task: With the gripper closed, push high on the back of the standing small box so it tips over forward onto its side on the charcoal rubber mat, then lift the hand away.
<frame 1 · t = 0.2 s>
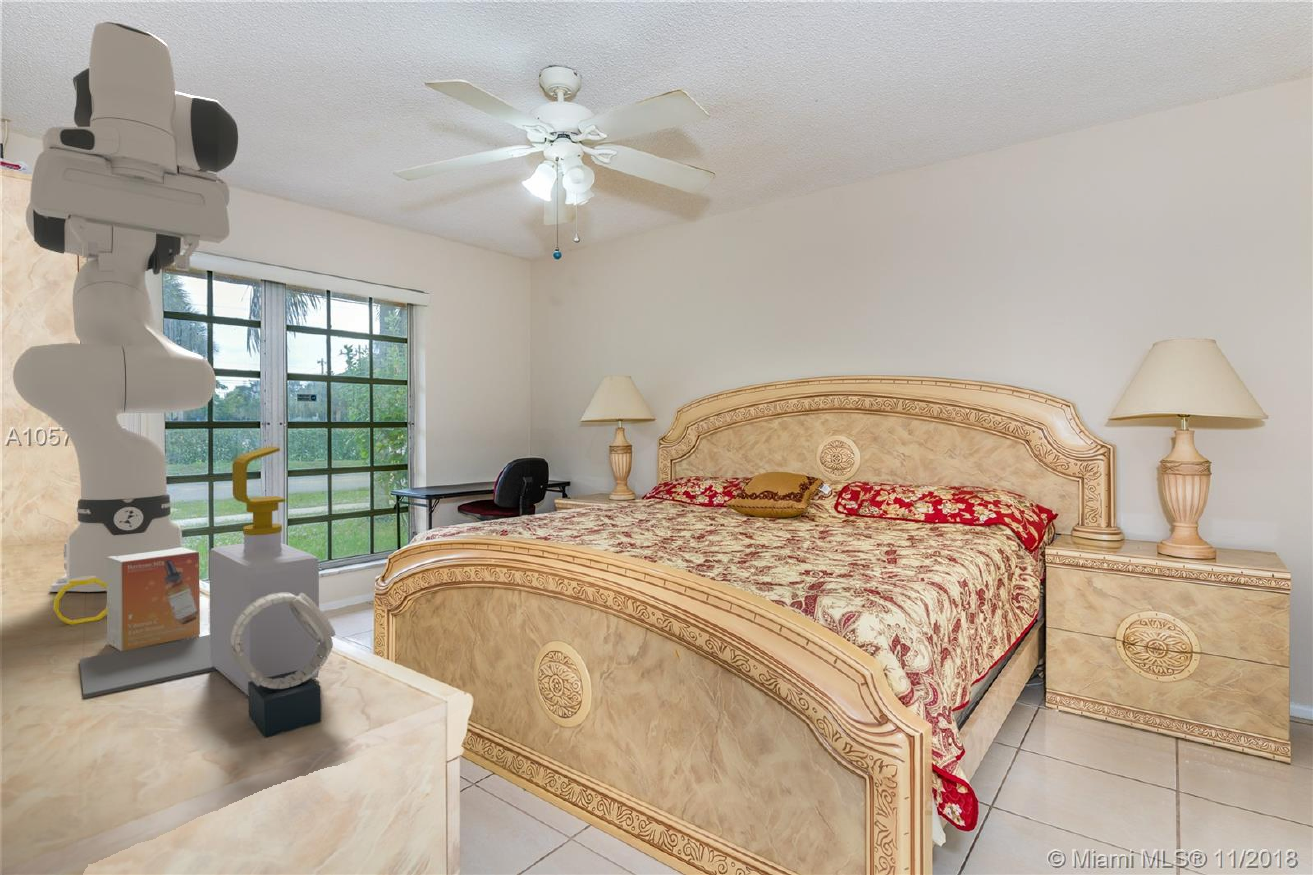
hand: (138, 263, 86), 47 cm above the table, fingers open, 8 cm apart
soap bottle: (263, 674, 69), on the table, touching mat
watch 2: (84, 623, 88), on the table
small box: (155, 641, 80), on the table
mat: (166, 662, 73), on the table
watch: (285, 721, 59), on the table
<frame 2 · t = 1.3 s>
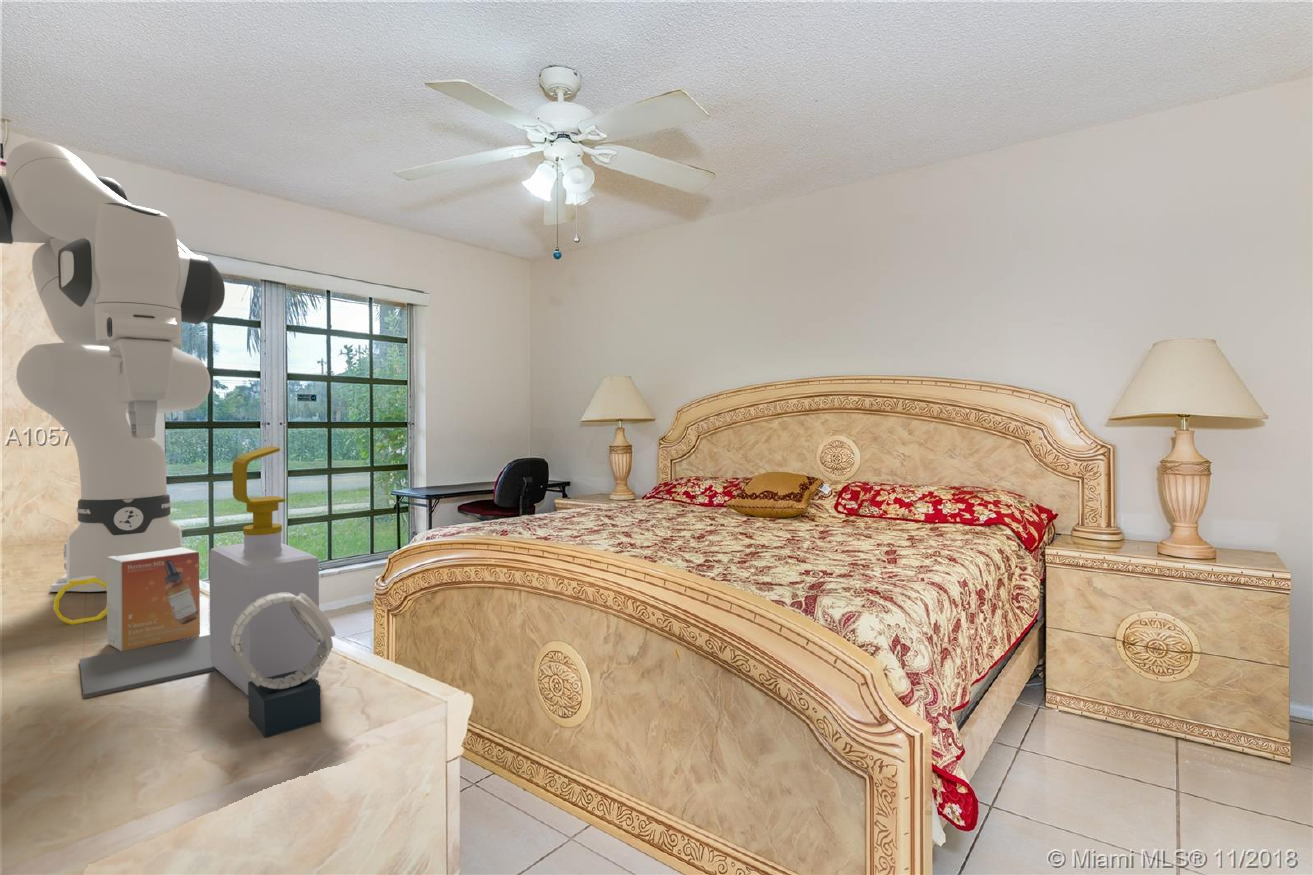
hand: (142, 438, 86), 24 cm above the table, fingers open, 7 cm apart
nothing on the table moved.
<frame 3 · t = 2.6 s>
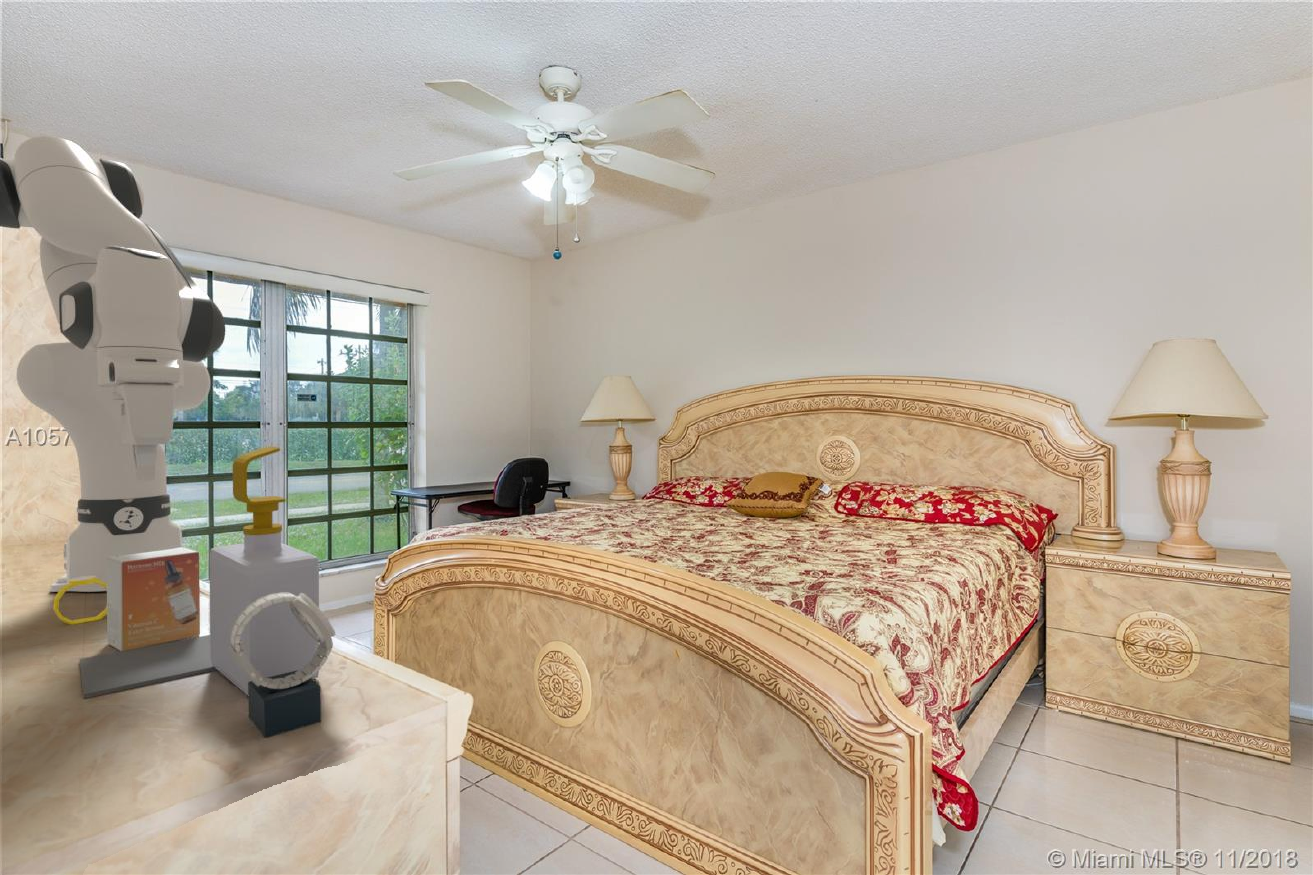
hand: (145, 480, 86), 19 cm above the table, fingers closed
nothing on the table moved.
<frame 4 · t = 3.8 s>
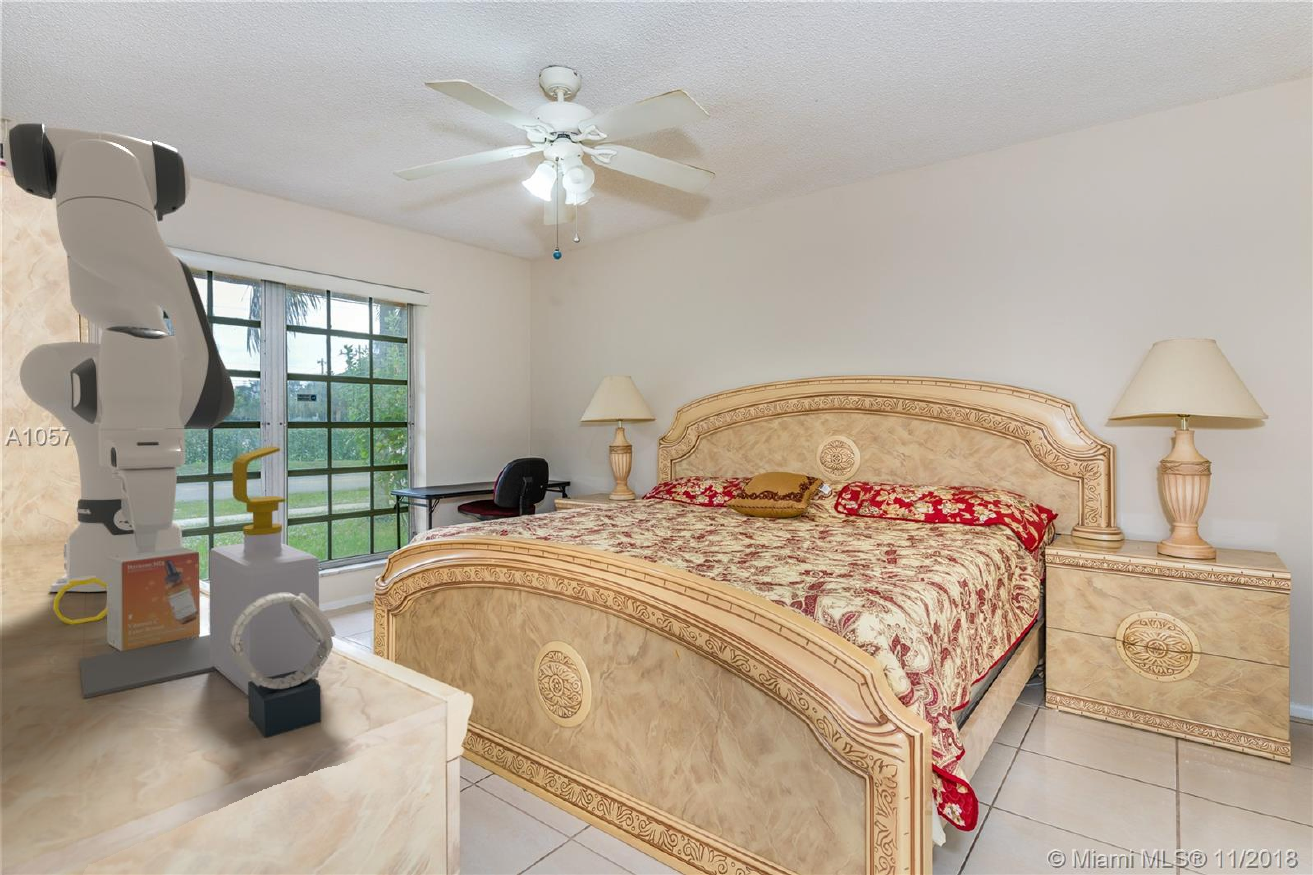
hand: (146, 558, 86), 9 cm above the table, fingers closed
nothing on the table moved.
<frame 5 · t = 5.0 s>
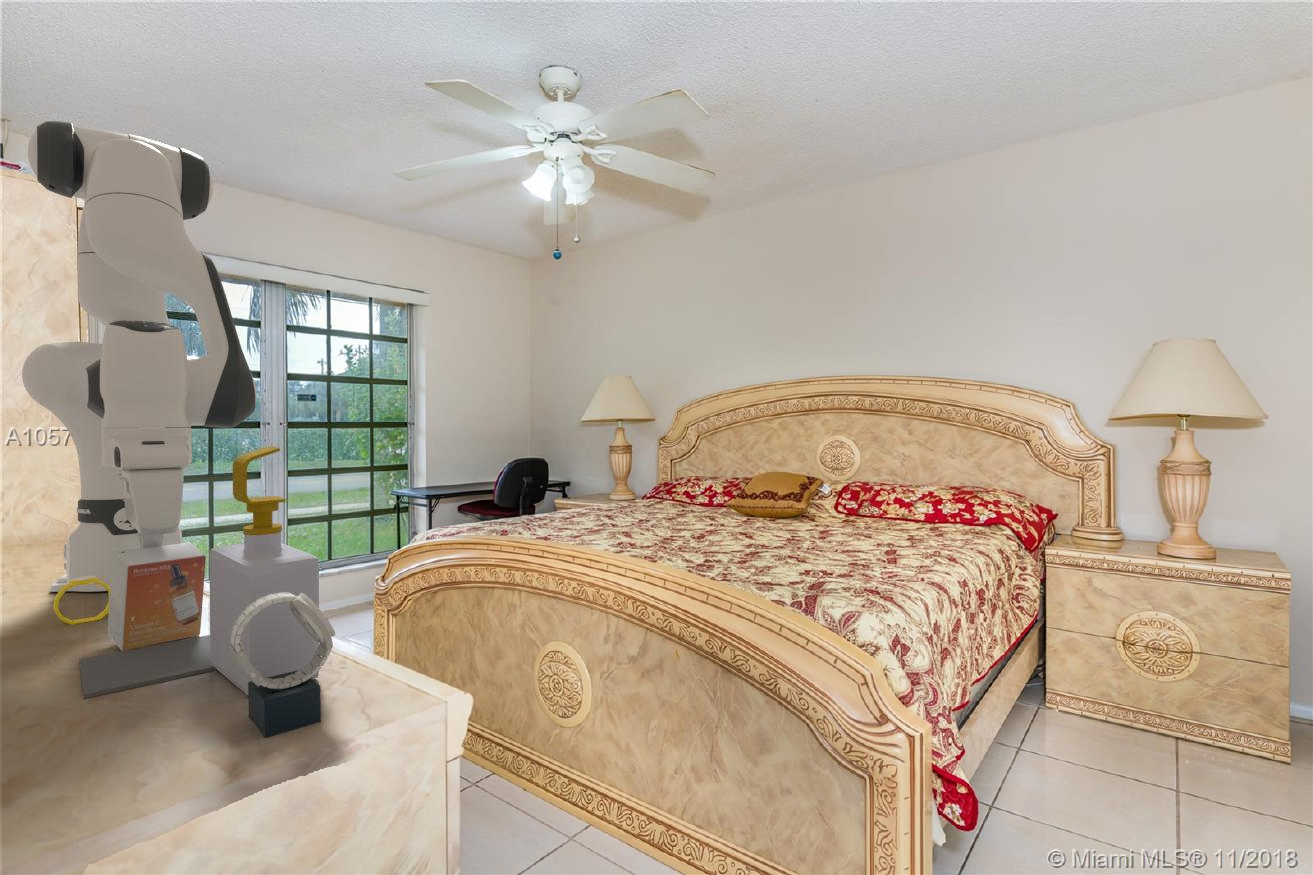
hand: (151, 563, 82), 9 cm above the table, fingers closed
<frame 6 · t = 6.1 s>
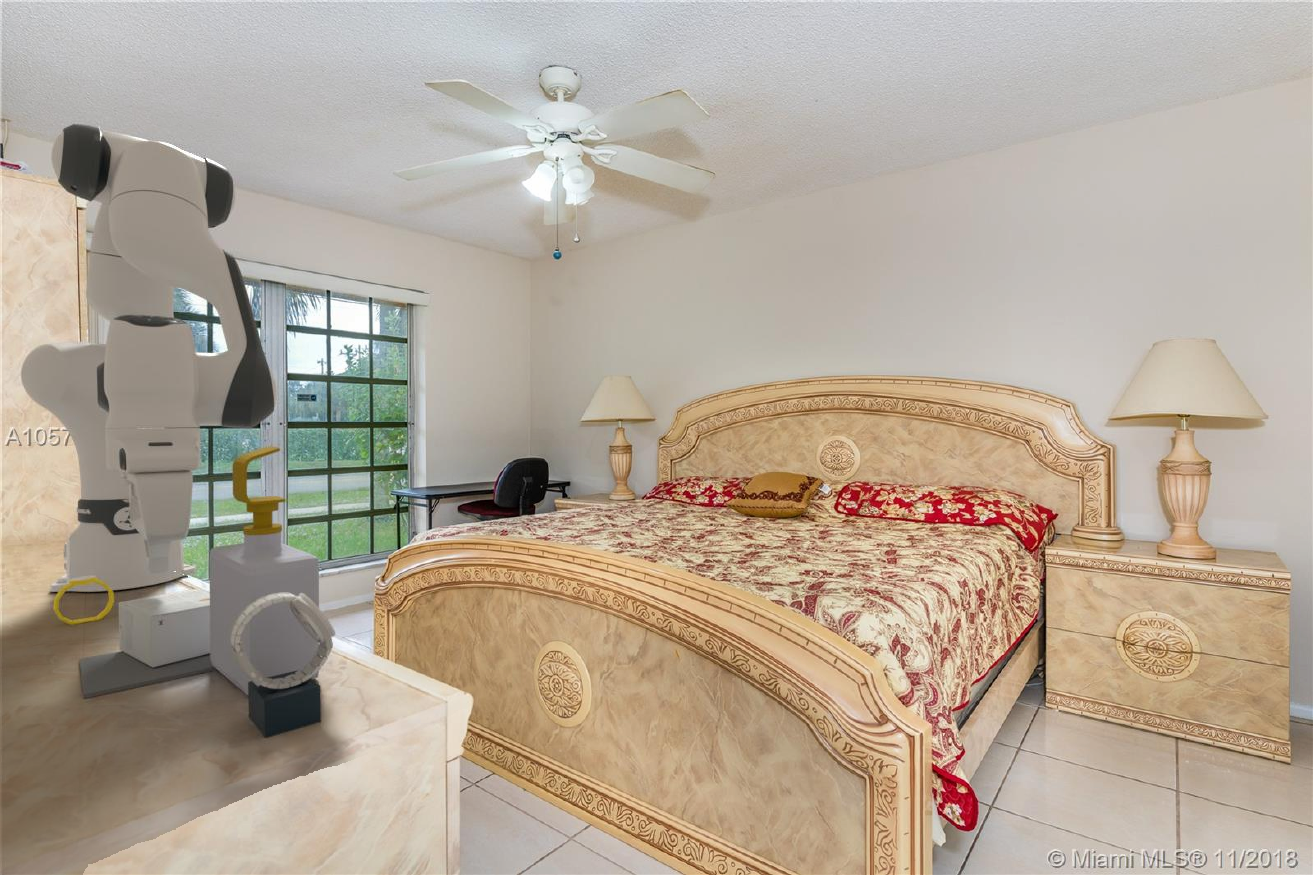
hand: (157, 571, 78), 9 cm above the table, fingers closed
small box: (159, 617, 79), point 3 cm above the table, touching mat
everything else where it was.
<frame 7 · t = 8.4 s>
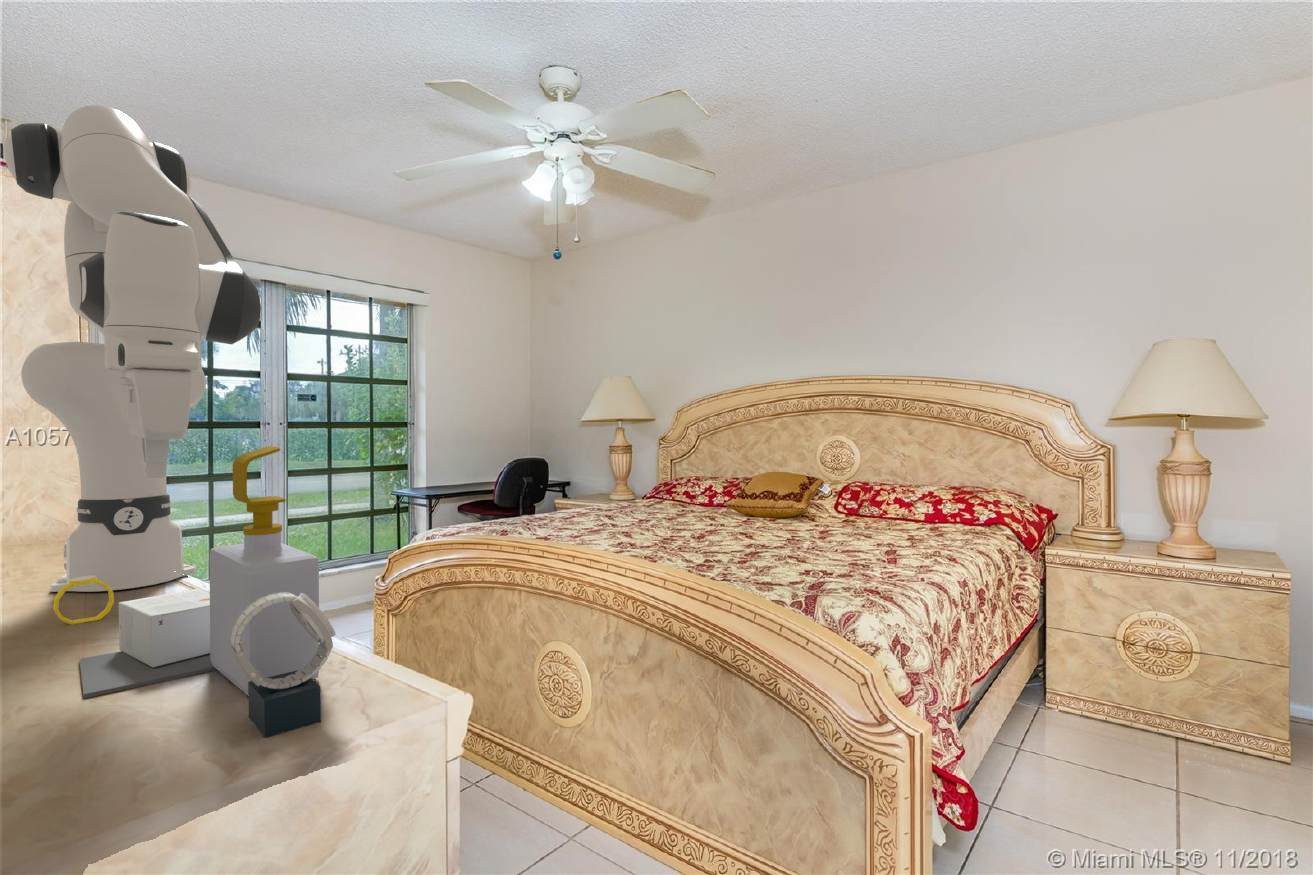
hand: (155, 477, 76), 20 cm above the table, fingers closed
nothing on the table moved.
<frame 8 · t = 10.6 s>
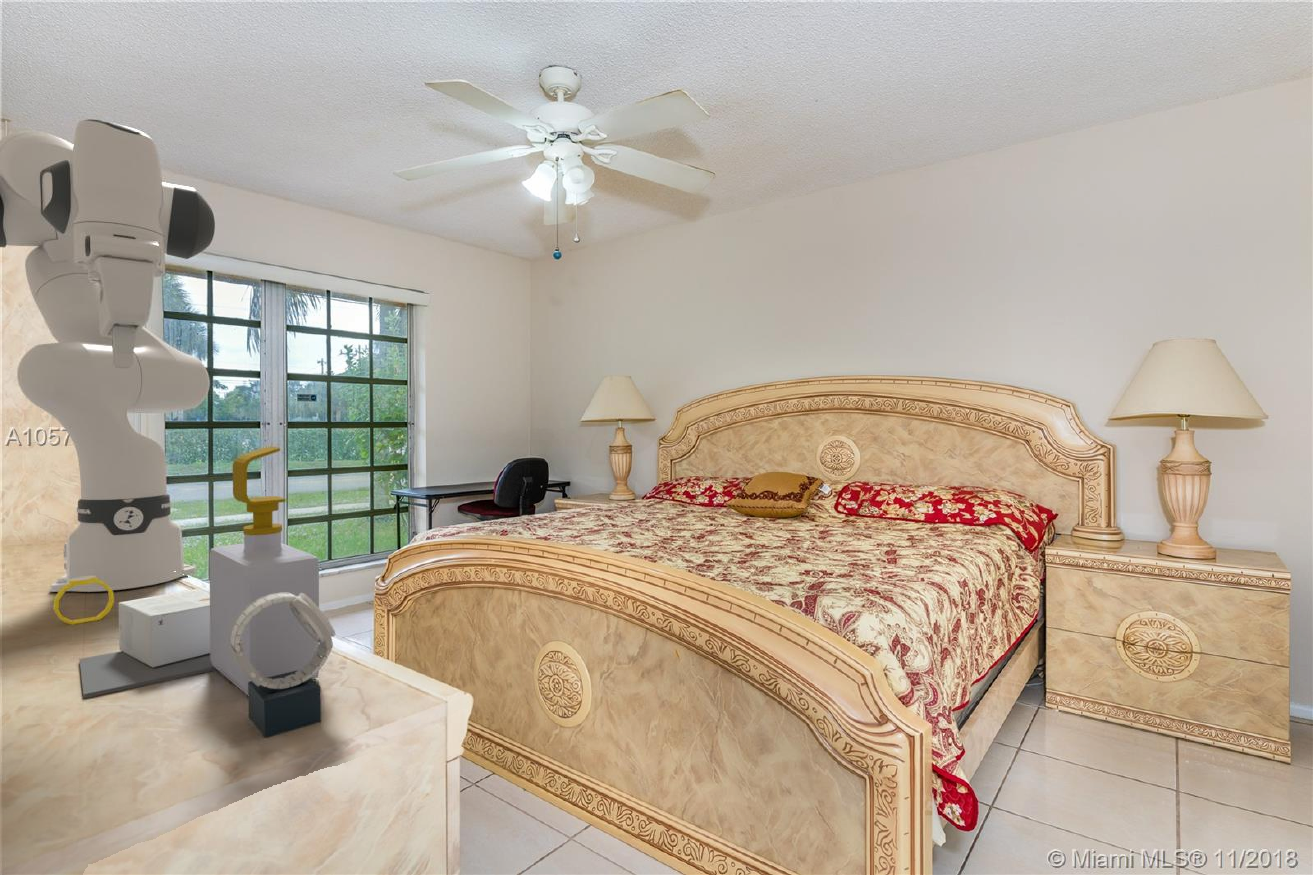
hand: (123, 367, 83), 33 cm above the table, fingers closed
nothing on the table moved.
at the end: small box tilted 90°; small box touching mat; small box inside the target area (3.7 cm from its centre), point 3.2 cm above the table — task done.
